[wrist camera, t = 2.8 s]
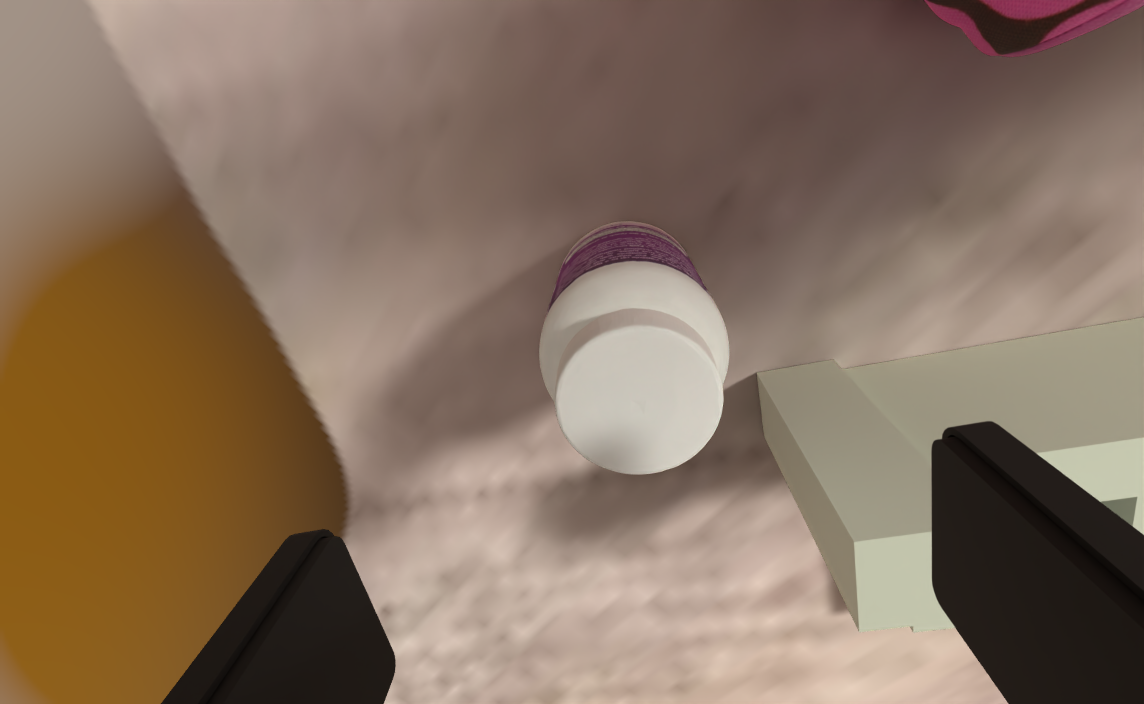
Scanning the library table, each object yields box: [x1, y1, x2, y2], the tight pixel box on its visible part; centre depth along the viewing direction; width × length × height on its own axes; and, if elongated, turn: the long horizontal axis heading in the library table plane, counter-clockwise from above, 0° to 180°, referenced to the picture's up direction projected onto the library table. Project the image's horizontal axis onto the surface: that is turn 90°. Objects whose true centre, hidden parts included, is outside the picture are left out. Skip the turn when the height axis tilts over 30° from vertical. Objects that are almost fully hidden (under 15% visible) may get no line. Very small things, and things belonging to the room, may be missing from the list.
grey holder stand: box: [757, 317, 1144, 633], centre depth 20 cm, size 12×19×10 cm, turn 103°
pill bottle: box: [539, 221, 729, 475], centre depth 18 cm, size 5×5×10 cm
